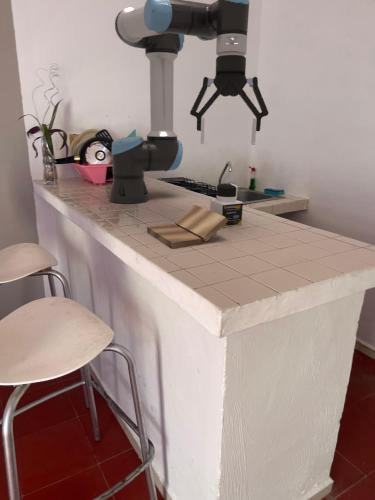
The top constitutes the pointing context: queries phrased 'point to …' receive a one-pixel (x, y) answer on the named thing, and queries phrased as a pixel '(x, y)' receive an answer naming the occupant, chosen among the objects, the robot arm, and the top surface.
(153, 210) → the top surface
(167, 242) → the laid board
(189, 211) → the plank
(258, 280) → the top surface
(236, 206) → the medicine bottle
